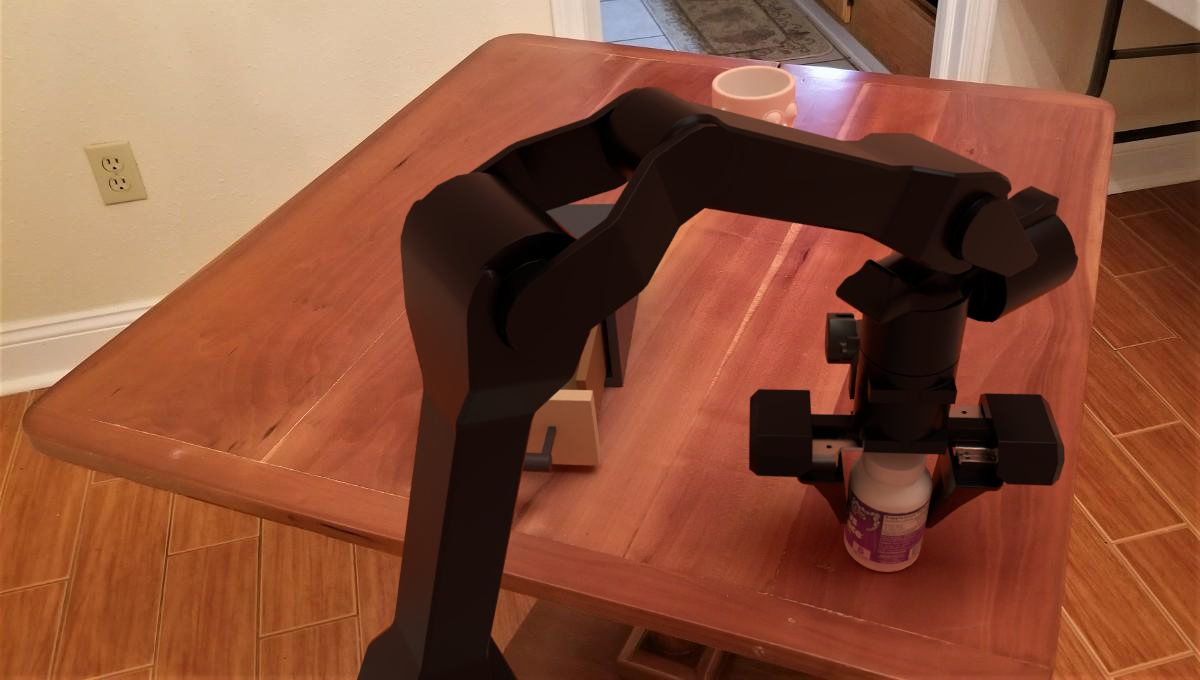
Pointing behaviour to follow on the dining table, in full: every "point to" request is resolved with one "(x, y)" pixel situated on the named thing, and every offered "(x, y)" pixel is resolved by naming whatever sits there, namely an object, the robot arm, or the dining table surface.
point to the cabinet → (622, 320)
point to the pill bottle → (887, 509)
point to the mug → (757, 93)
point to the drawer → (572, 413)
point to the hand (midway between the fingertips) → (885, 521)
